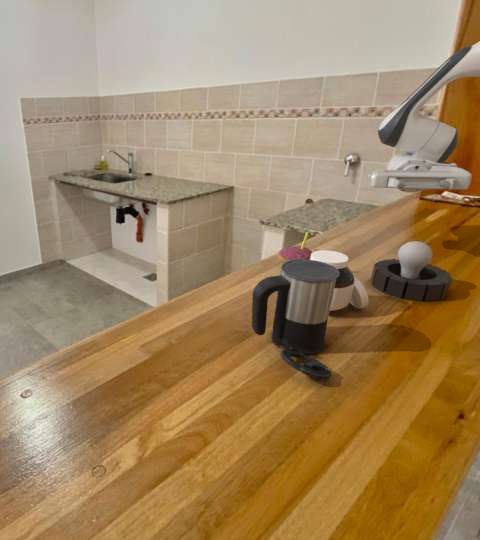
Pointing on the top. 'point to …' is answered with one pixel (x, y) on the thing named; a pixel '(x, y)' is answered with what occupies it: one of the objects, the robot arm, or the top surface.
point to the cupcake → (295, 252)
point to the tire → (411, 281)
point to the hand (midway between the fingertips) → (423, 185)
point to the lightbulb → (413, 258)
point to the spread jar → (342, 282)
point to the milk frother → (298, 311)
